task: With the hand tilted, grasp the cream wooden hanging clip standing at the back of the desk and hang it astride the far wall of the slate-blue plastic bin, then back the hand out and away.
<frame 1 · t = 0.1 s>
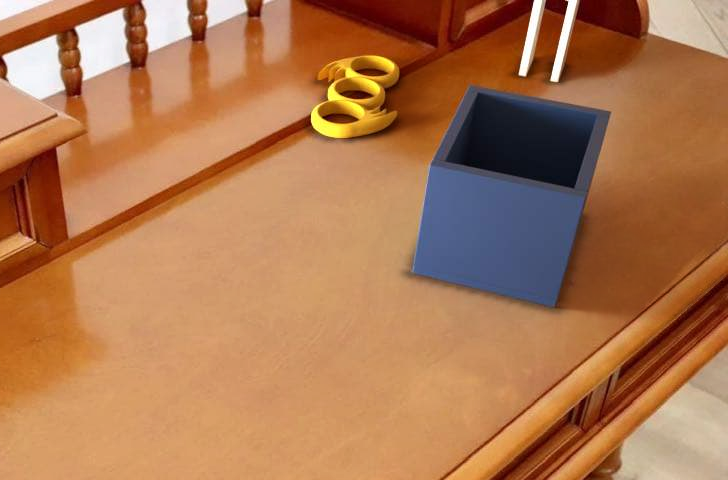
clip: (541, 70, 120), on the table
bin: (499, 244, 96), on the table
yellow winged triple ring: (355, 102, 115), on the table
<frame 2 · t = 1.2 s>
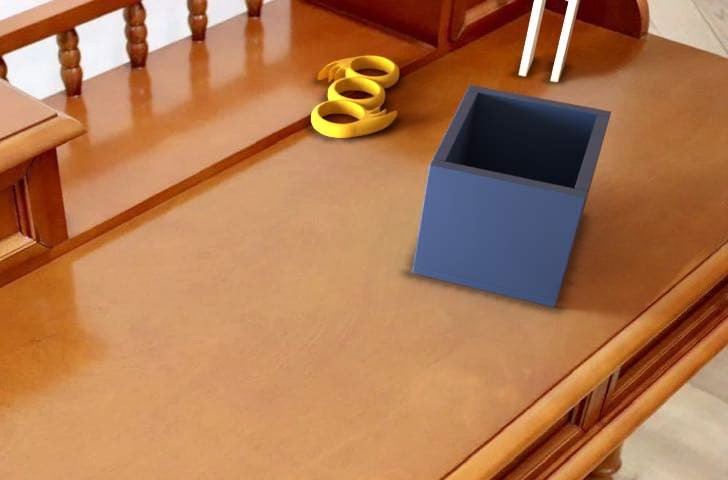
nothing on the table moved.
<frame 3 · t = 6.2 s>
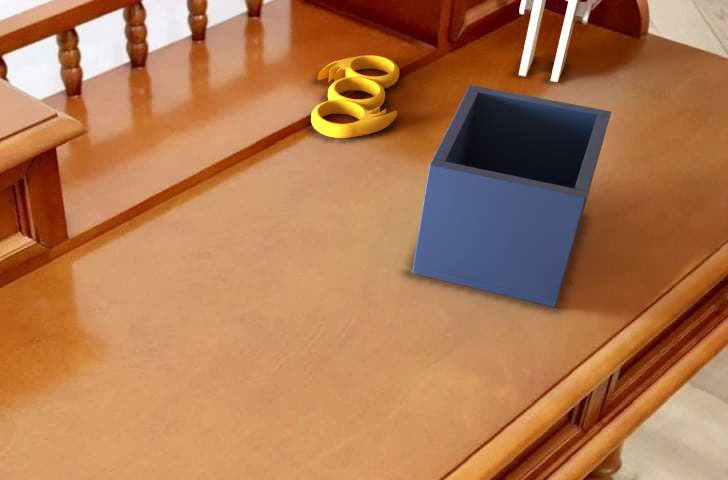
hand: (553, 17, 115), 6 cm above the table, tool tilted 45°, fingers closed on clip, 4 cm apart
clip: (541, 70, 120), on the table, touching gripper
everything else where it was.
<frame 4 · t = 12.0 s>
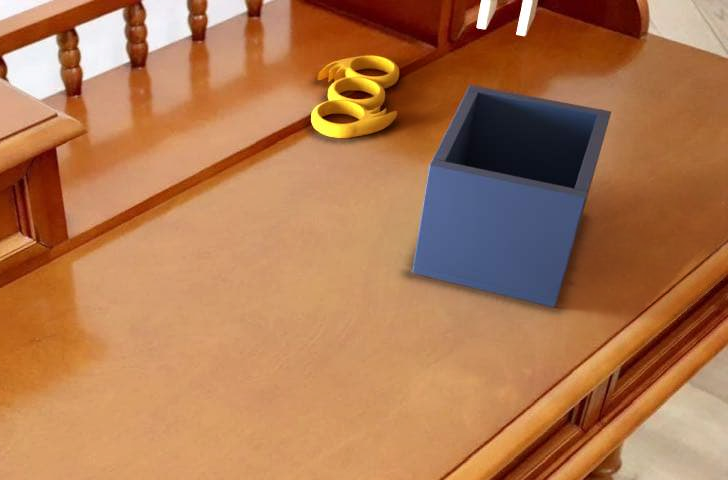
clip: (505, 22, 95), point 15 cm above the table, touching gripper
everything else where it was.
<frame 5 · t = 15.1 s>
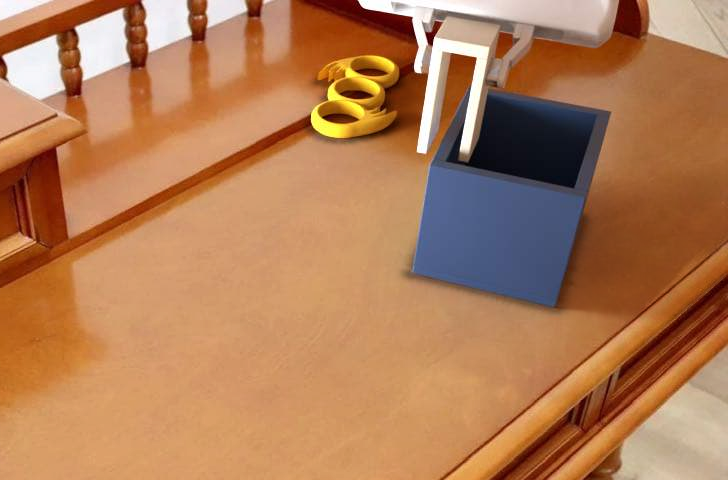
hand: (458, 78, 85), 16 cm above the table, tool tilted 45°, fingers closed on clip, 4 cm apart
clip: (447, 145, 90), point 10 cm above the table, touching gripper
everything else where it was.
when the fingers open (8 cm above the table, at t = 17.7 s): clip stays where it is, resting on bin.
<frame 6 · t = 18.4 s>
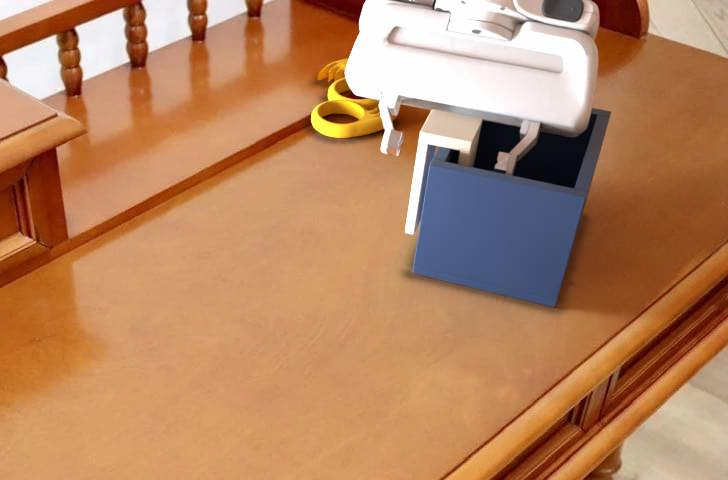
hand: (444, 165, 91), 8 cm above the table, tool tilted 45°, fingers open, 8 cm apart
clip: (434, 226, 95), point 2 cm above the table, touching bin
everything else where it was.
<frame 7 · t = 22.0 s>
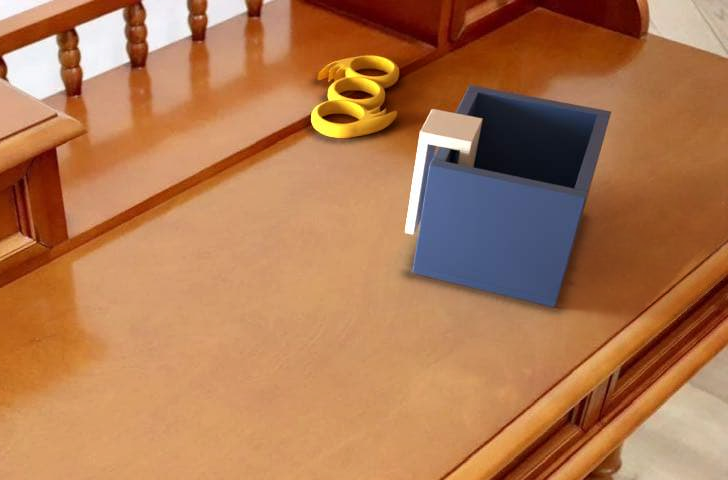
nothing on the table moved.
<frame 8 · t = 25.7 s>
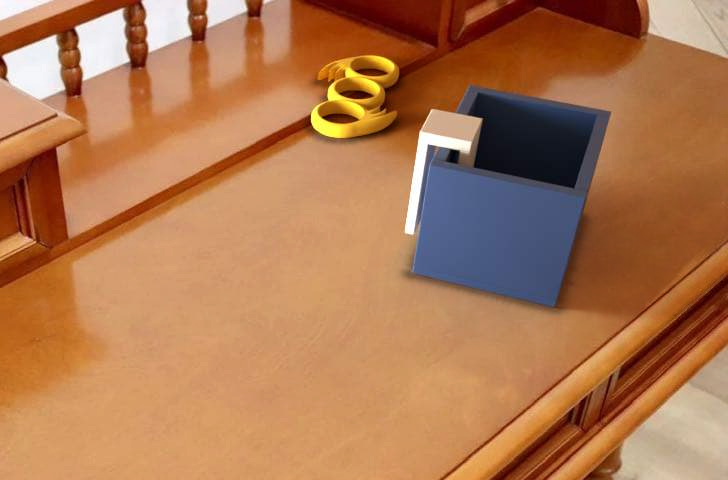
nothing on the table moved.
at the end: clip 0.1 cm from the target spot in the bin, point 1.8 cm above the bin's base; clip tilted 0°; clip touching bin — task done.
